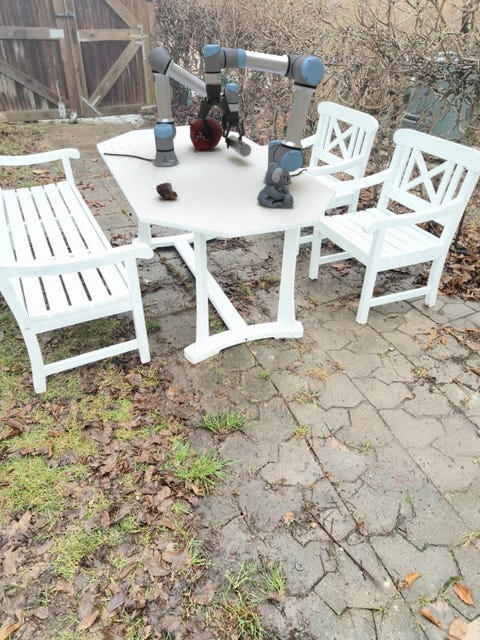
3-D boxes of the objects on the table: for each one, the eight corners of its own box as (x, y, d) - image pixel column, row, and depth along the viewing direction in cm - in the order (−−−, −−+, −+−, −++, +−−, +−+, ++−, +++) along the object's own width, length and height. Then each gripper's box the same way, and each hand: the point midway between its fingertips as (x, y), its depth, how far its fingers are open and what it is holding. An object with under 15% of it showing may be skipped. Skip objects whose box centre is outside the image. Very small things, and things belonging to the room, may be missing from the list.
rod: (226, 147, 304) (226, 135, 300) (237, 146, 306) (237, 134, 302) (239, 157, 283) (239, 144, 279) (251, 156, 285) (251, 143, 281)
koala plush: (294, 208, 225) (297, 169, 214) (259, 209, 224) (259, 170, 213) (288, 196, 240) (290, 159, 229) (255, 198, 239) (255, 160, 227)
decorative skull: (188, 123, 330) (185, 120, 306) (219, 116, 329) (218, 112, 306) (194, 153, 337) (192, 152, 313) (225, 146, 336) (225, 145, 313)
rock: (172, 196, 246) (154, 198, 242) (170, 179, 242) (152, 182, 238) (179, 199, 236) (161, 201, 232) (177, 182, 233) (159, 184, 229)
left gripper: (219, 113, 284) (220, 150, 297) (249, 110, 289) (250, 147, 302) (215, 111, 290) (217, 147, 303) (245, 108, 295) (246, 144, 308)
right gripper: (199, 86, 200) (202, 137, 212) (237, 81, 215) (237, 128, 227) (188, 85, 204) (191, 134, 216) (226, 80, 219) (227, 126, 231)
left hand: (233, 147), depth 302 cm, fingers closed on rod, 8 cm apart
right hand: (215, 131), depth 222 cm, fingers open, 13 cm apart
